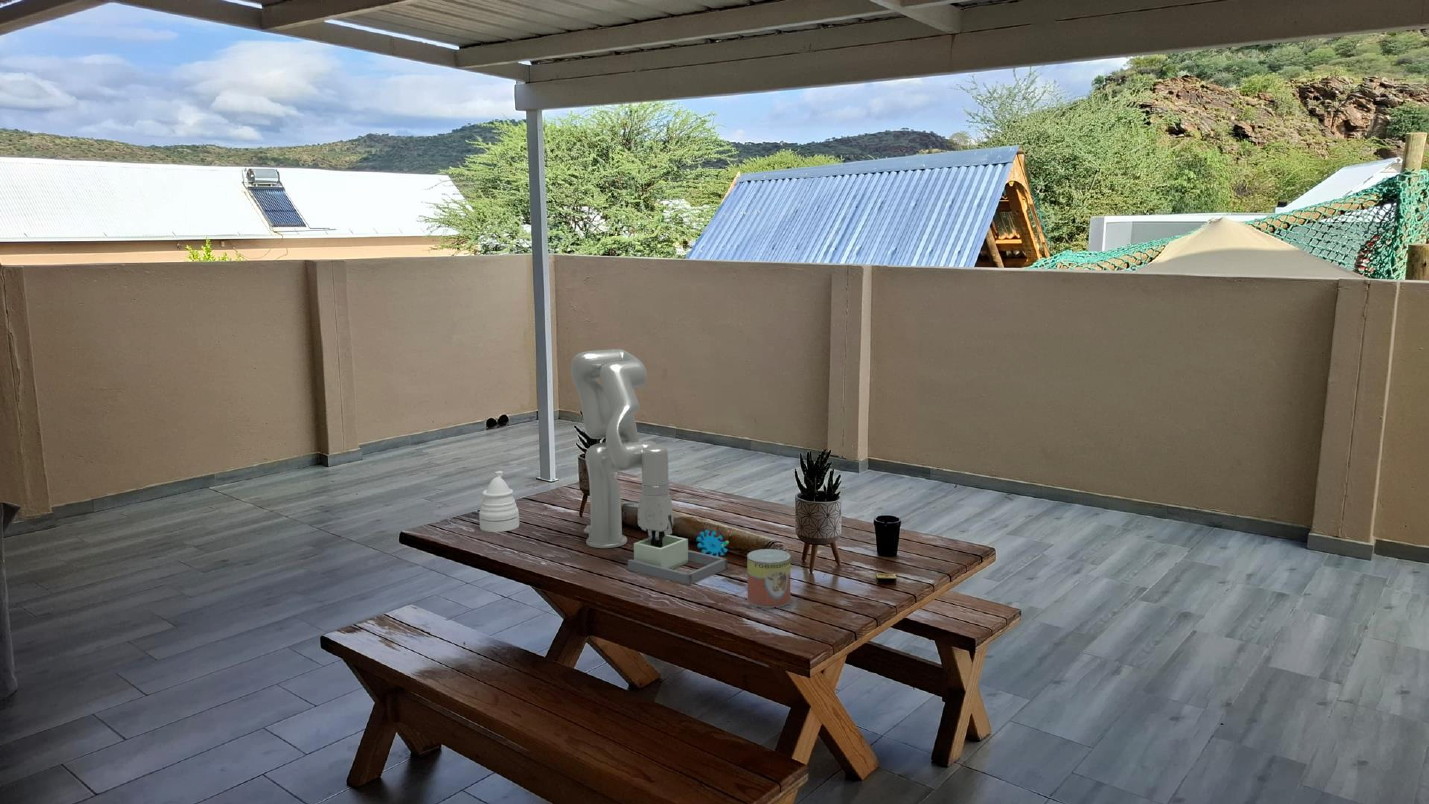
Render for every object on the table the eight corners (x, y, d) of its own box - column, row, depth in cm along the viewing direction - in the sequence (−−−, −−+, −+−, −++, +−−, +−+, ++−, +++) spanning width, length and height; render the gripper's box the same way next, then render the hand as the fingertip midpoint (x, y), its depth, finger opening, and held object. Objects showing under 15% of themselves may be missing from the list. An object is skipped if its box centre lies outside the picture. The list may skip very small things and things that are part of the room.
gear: (704, 558, 283) (694, 529, 289) (695, 569, 287) (685, 539, 292) (735, 556, 290) (724, 528, 295) (726, 567, 293) (715, 538, 299)
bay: (628, 573, 276) (627, 560, 276) (667, 557, 290) (667, 545, 289) (689, 589, 263) (688, 575, 263) (727, 571, 277) (727, 558, 276)
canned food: (758, 610, 247) (758, 564, 245) (740, 596, 257) (739, 552, 256) (798, 603, 252) (798, 558, 250) (778, 590, 262) (778, 546, 260)
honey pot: (488, 520, 332) (485, 468, 329) (524, 521, 330) (522, 469, 327) (473, 531, 319) (471, 477, 317) (511, 532, 318) (509, 478, 315)
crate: (634, 567, 278) (633, 543, 277) (661, 556, 288) (661, 533, 287) (661, 573, 272) (660, 549, 271) (688, 562, 282) (687, 539, 281)
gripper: (626, 488, 279) (628, 550, 282) (667, 495, 270) (668, 560, 273) (644, 483, 285) (645, 544, 288) (684, 490, 276) (685, 553, 279)
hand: (656, 551), depth 280 cm, fingers closed
